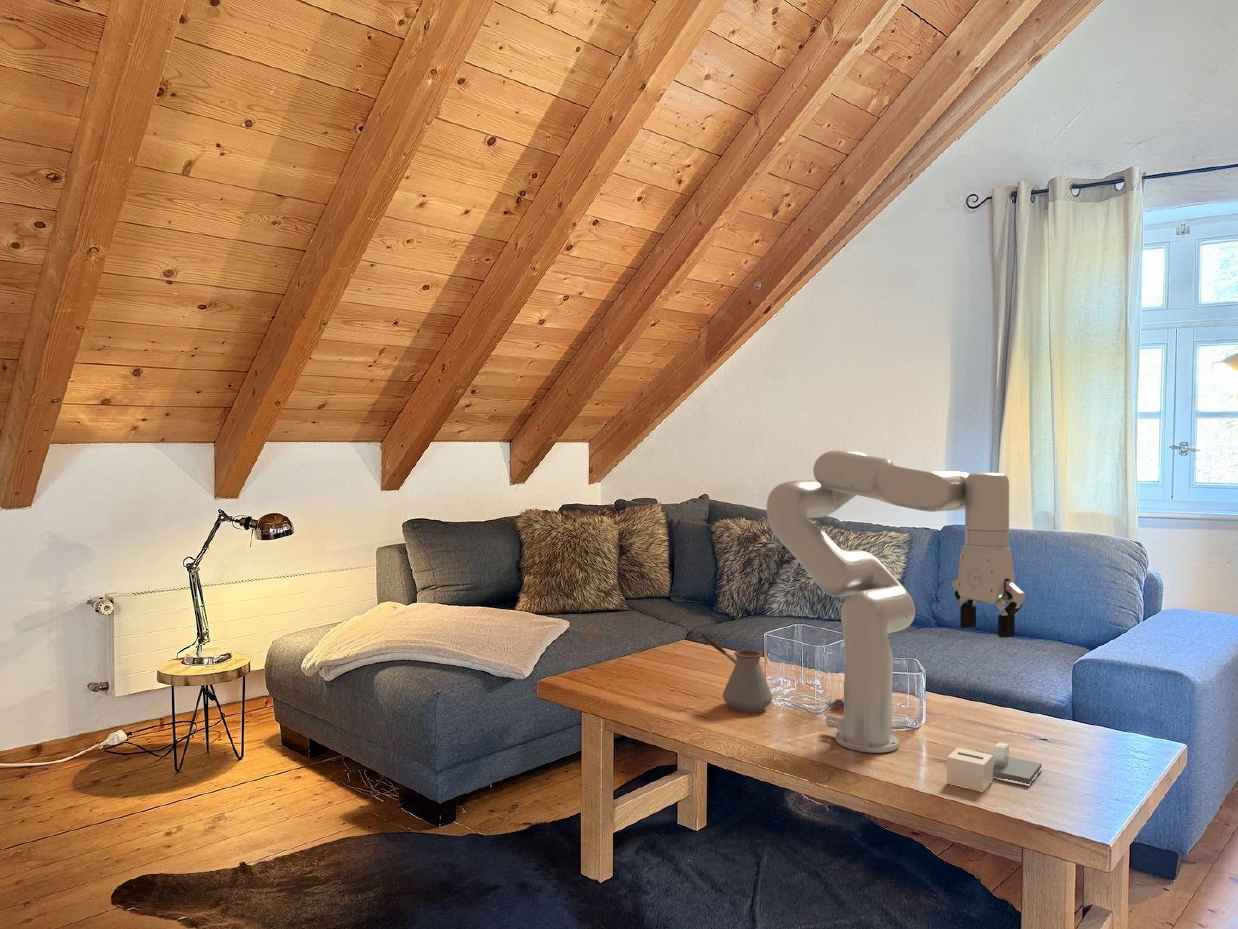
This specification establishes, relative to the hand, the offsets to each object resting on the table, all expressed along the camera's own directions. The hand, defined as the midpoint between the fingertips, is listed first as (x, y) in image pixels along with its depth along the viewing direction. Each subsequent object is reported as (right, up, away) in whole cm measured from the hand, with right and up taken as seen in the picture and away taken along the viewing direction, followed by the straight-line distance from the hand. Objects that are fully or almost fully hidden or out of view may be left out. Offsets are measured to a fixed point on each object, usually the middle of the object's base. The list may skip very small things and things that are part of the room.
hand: (986, 632), depth 166 cm
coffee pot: (-41, -26, +46) cm, 67 cm away
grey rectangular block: (+5, -26, +4) cm, 26 cm away
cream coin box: (-4, -27, -2) cm, 28 cm away
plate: (+4, -27, +4) cm, 28 cm away
